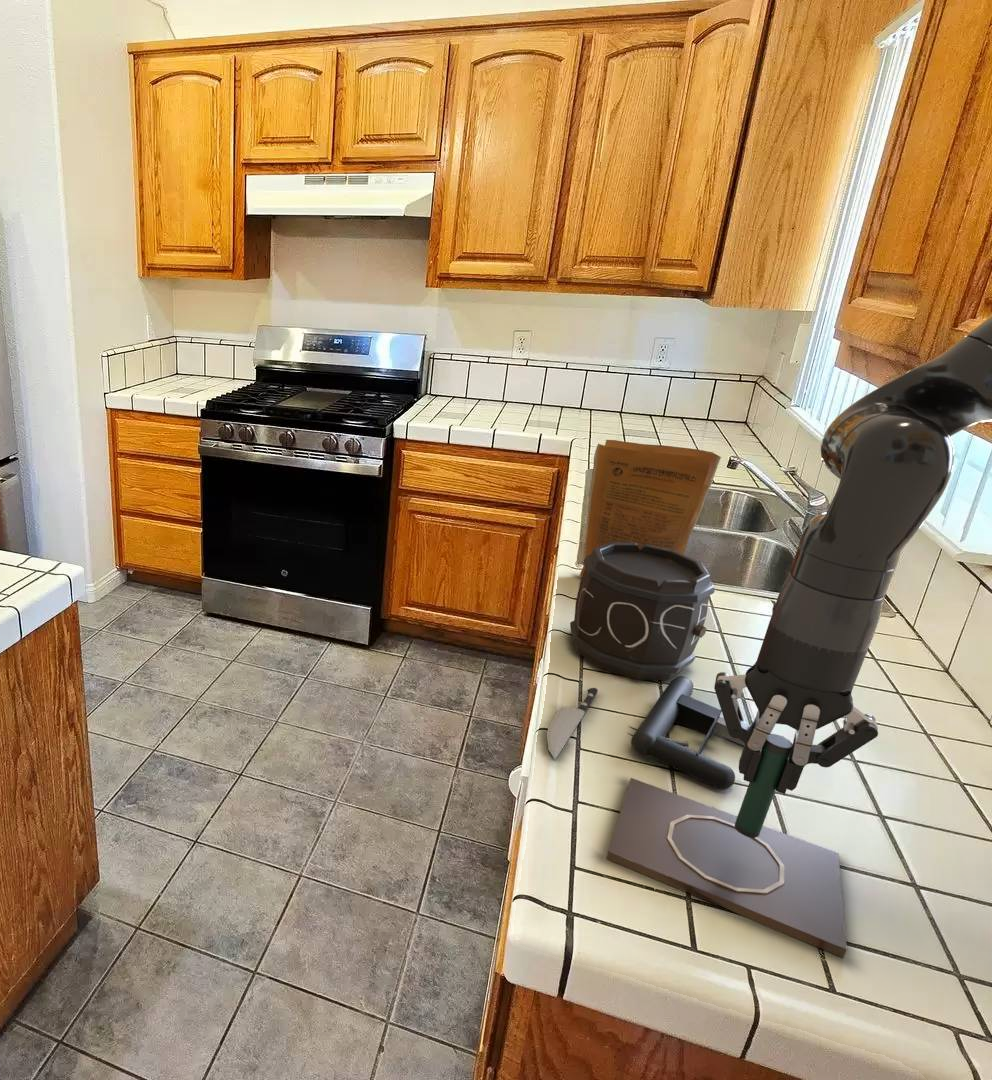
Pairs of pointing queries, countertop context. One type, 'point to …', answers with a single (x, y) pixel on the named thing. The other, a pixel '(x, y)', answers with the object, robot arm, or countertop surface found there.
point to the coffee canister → (640, 610)
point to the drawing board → (732, 864)
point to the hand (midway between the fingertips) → (764, 782)
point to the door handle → (674, 752)
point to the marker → (763, 786)
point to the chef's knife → (567, 723)
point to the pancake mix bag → (646, 494)
